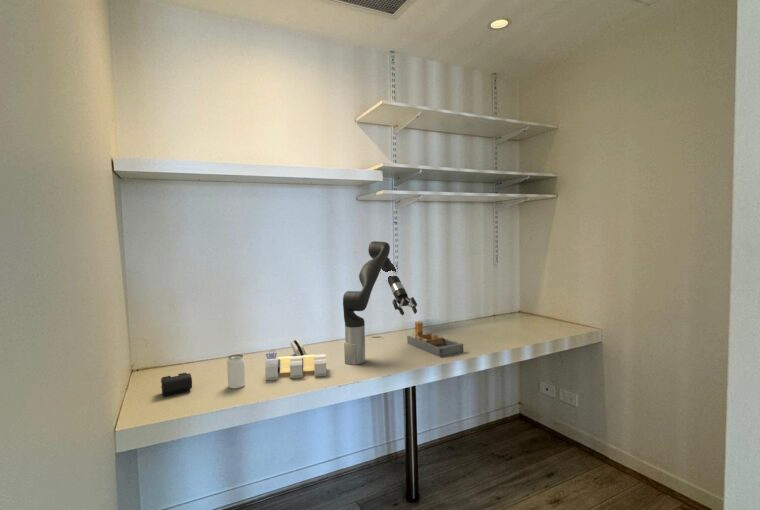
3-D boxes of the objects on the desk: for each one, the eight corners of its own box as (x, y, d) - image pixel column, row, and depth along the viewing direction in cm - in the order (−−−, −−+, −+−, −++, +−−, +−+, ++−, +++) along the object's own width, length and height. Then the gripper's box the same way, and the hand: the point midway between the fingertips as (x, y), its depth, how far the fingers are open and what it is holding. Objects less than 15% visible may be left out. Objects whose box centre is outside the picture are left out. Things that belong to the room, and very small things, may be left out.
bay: (463, 352, 194) (463, 344, 194) (440, 357, 188) (440, 348, 187) (428, 339, 221) (428, 331, 220) (407, 343, 214) (407, 335, 214)
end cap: (163, 399, 145) (162, 381, 145) (160, 393, 151) (159, 376, 150) (192, 392, 151) (191, 375, 151) (188, 387, 157) (188, 370, 156)
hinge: (311, 361, 186) (304, 342, 184) (302, 366, 184) (294, 347, 183) (304, 352, 201) (297, 334, 200) (295, 356, 200) (288, 339, 198)
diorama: (265, 381, 161) (264, 350, 161) (268, 373, 172) (267, 343, 171) (326, 377, 165) (325, 346, 165) (326, 369, 175) (325, 340, 175)
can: (224, 387, 155) (223, 357, 155) (238, 382, 161) (237, 353, 160) (234, 390, 152) (233, 359, 151) (248, 385, 157) (247, 355, 157)
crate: (443, 344, 205) (443, 326, 205) (427, 347, 200) (427, 328, 200) (425, 337, 220) (424, 320, 220) (409, 340, 215) (409, 322, 215)
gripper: (390, 288, 228) (401, 311, 218) (411, 286, 234) (422, 308, 225) (386, 296, 233) (396, 318, 223) (406, 294, 239) (417, 316, 230)
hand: (409, 313), depth 224 cm, fingers open, 8 cm apart
